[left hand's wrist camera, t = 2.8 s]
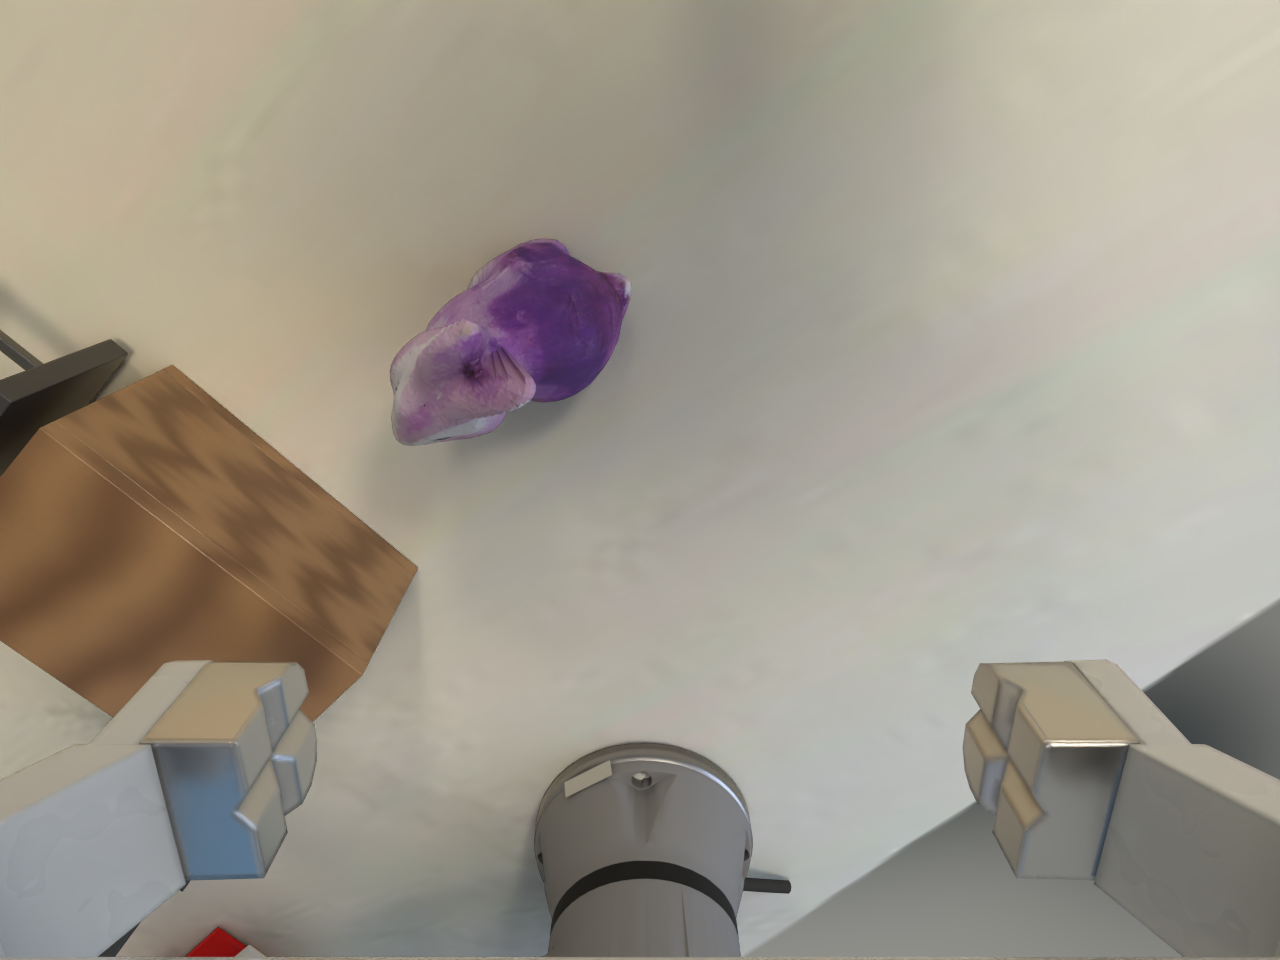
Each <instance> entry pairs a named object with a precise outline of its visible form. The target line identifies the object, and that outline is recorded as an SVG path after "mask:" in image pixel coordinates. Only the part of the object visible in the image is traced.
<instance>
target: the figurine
mask: <svg viewBox="0 0 1280 960" xmlns="http://www.w3.org/2000/svg"><path fill="white" fill-rule="evenodd" d="M630 298H631V282H630V281H629V279H628V278H626V277H625V276H623V275H621V274H619V273H604V272H598V271H595V270H593V269H592V268H591V267H589V266H587V265H585V264H584V263H582V262H580V261H578V260H576V259H575V258H573V257H571V256H570V254H569V252H568V251H567V249H566V247H565V246H564V245H563V244H561V243H560V242H559V241H557V240H553V239H536V240H531V241H529V242H526V243H522V244H520V245H518V246H516V247H514V248H512V249H510V250H509V251H507V252H505V253H503V254H502V255H500V256H498V257H496V258H495V259H493V260H492V261H491V262H489V263H488V264H486V265H485V266H484V267H483V268H482V269H480V270H479V271H478V272H477V274H476V275H475V276H474V277H473V279H472V280H471V282H470V285H469V287H468V289H467V290H466V291H464V292H462V293H460V294H459V295H457V296H456V297H454V298H453V299H451V300H450V301H449V302H448V303H447V304H445V305H444V307H443V308H442V309H441V310H440V311H439V312H438V313H437V314H436V315H435V316H434V317H433V318H432V319H431V321H430V322H429V324H428V326H427V329H426V331H425V332H422V333H420V334H418V335H417V336H416V337H414V338H413V339H412V340H410V341H409V342H408V343H407V344H406V345H405V346H404V347H403V348H402V349H401V350H400V351H399V352H398V354H397V355H396V357H395V358H394V360H393V362H392V364H391V369H390V380H391V385H392V388H393V392H394V407H393V410H392V416H391V419H392V428H393V433H394V436H395V438H396V440H397V441H399V442H400V443H401V444H403V445H409V446H414V445H426V444H431V443H436V442H443V441H449V440H456V439H466V438H472V437H476V436H480V435H483V434H486V433H489V432H491V431H493V430H494V429H495V428H496V427H497V426H498V425H499V424H500V423H501V422H502V420H503V419H504V417H505V415H506V413H508V412H511V411H515V410H516V409H518V408H521V407H522V406H524V405H525V404H527V403H528V402H530V400H533V401H538V402H552V401H559V400H563V399H566V398H568V397H571V396H573V395H575V394H577V393H578V392H580V391H581V390H583V389H584V388H586V387H587V386H588V385H590V384H591V383H592V381H593V380H594V379H595V378H596V377H597V375H598V374H599V373H600V372H601V370H602V369H603V368H604V366H605V365H606V363H607V362H608V360H609V358H610V356H611V355H612V353H613V351H614V348H615V346H616V344H617V341H618V338H619V335H620V328H621V324H622V320H623V317H624V314H625V312H626V309H627V306H628V304H629V301H630Z"/></svg>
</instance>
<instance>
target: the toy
mask: <svg viewBox="0 0 1280 960" xmlns="http://www.w3.org/2000/svg"><path fill="white" fill-rule="evenodd" d="M186 957H266V956H265V955H263V954H262V953H261V952H259V951H258V950H256V949H255V948H254V947H252V946H251V945H248V946H245V945H244V944H242V943H241V942H239V941H238V940H237V939H235V938H234V937H232V936H231V935H229V934H228V933H226V932H225V931H223V930H222V929H220V928H219V927H217V928H216V929H215V930H214V931H213V932H212V933H211V934H210V935H209V936H207V937H206V938H205V939H204V940H203V941H202V942H201V943H200V944H199V945H198V946H197V947H195V948H194V949H193V950H192V951H191V952H190V953H189V954H188V955H187V956H186Z"/></svg>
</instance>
